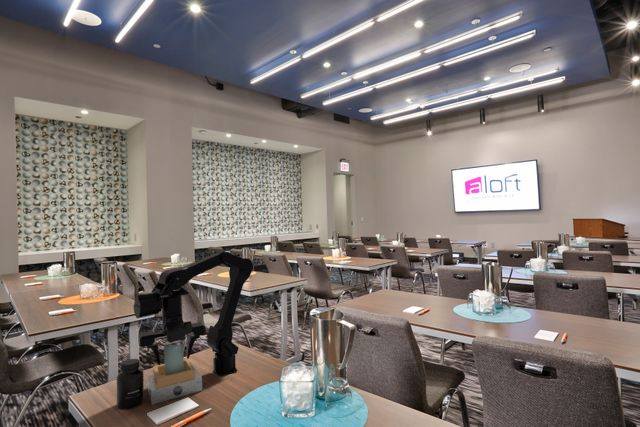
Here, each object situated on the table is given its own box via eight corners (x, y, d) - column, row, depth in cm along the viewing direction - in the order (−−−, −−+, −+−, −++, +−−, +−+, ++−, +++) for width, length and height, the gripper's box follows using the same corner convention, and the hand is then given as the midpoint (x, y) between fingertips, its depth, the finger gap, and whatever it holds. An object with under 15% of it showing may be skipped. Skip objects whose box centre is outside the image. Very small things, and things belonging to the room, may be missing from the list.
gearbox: (193, 376, 118) (193, 356, 118) (202, 391, 107) (202, 369, 107) (147, 388, 110) (146, 367, 110) (151, 405, 100) (151, 382, 100)
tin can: (182, 370, 113) (181, 338, 113) (185, 377, 108) (184, 343, 108) (163, 375, 110) (162, 341, 110) (166, 381, 105) (165, 346, 105)
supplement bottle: (132, 411, 97) (131, 367, 97) (111, 409, 98) (110, 366, 98) (149, 398, 104) (148, 357, 104) (129, 397, 105) (128, 356, 105)
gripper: (140, 322, 97) (142, 379, 97) (209, 311, 107) (211, 363, 107) (137, 314, 107) (139, 365, 107) (201, 304, 117) (202, 351, 116)
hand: (173, 361), depth 109 cm, fingers open, 8 cm apart
